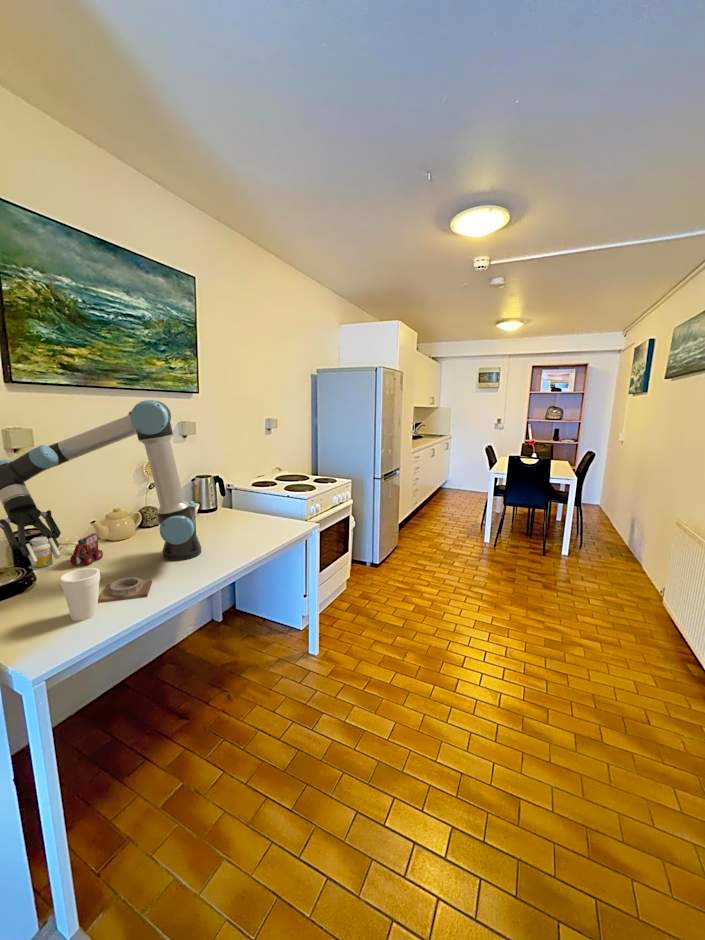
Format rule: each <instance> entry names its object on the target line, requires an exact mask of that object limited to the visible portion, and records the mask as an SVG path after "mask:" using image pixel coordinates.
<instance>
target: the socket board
mask: <svg viewBox="0 0 705 940" xmlns="http://www.w3.org/2000/svg"><path fill="white" fill-rule="evenodd" d="M152 584H153V579H145V580H142V578H140V577H135V576H133V577H125V578H121V579H118V580H115V581H114V582H112V583H108V584H106V586H105V587H104V589H103V590H102V592H101V594H100V596H98V603H105V602H107V603H108V602H113V601H114V602H115V601H121V600H122V601H123V600H129V599H138V598H145V597H146V598H147V597H148V595H149V592H150V590H151V587H152Z"/></svg>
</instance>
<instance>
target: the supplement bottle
mask: <svg viewBox="0 0 705 940" xmlns="http://www.w3.org/2000/svg"><path fill="white" fill-rule="evenodd" d="M47 542H48V539H47V537H45V536H38V537H37V536H36V537H33V538H32V539H30V546H31V548H32V550H33V552H34V554H35V556H36V558H37V560H38V561H37V563H36V565H34V566H32V564H31V563H30V565H31V569H32V570H33V571H43V570H48V569H50V568H52V567H53V565H54V561H53V553H52V551H51V545H50V544H49V543H47Z"/></svg>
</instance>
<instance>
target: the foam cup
mask: <svg viewBox="0 0 705 940" xmlns="http://www.w3.org/2000/svg"><path fill="white" fill-rule="evenodd" d="M100 580H101V573H100V569H99V568H95V567H86V568H78V569H75V570H70V571H69V572H66V573H64V574H63V575H61V576H60V585H61V588H62V590H63V593H64V596H65V600H66V603H67V607H68V612H69V614H70V618H71V620H72V621H74V622H82V621H86V620H90V619H92V618H93V617H95V616H96V615H97V614H98V605H99V604H98V599H99V590H100Z"/></svg>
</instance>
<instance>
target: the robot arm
mask: <svg viewBox="0 0 705 940" xmlns="http://www.w3.org/2000/svg"><path fill="white" fill-rule="evenodd" d="M171 420H172V413H171V410H170V408H169V407H168V406H167V405H166V404H165V403H163V402H161V401H159V400H151V399H147V400H142V401H139V402H138V403H136V404H135V405H134V406H133V408H132V409H131V411H128V413H127V415H126V416H122V417H120V418H118V419H115V420H112V421H110V422H107V423H105V424H102V425H100V426H96V427H95V428H92V429H89V430H87V431H85V432H81V433H79V434H76V435H74V436H71V437H69V438H66V439H63V440H61V441H59V442H58V441H57V442H55V443H53V444H50V445H45V444H40V445H38V446H36V447H35V448H34V447H33V448H31V449H30V450H29V451H27V452H26V453H24V454H22V455H21V456H19V457H18V458H17V457H16V458H15V459H13V460H10V459H0V502H1V505H2V506H3V509H4V511H5V513H6V515H7V518H1V519H0V529H2V530H3V533H4V535H5V538H6V540H7V542H8V544H9V548H10V549H11V550H15V549H18V550H19V551H21V554H22V555H23V557H27V558H28V559H29V561H30V565H31V564H32V566H34V565H36V563H37V561H38V560H37V558H36V556H35V554H34V552H33V550H32V548H31V546H32V545H31V543H26V530H25V529H26V527H28V526H29V527H30V526H33V528H35V529H37V530H38V531H39V532H40V533H41V534H42V535H43V537H47V540H48V541H47V543H49V544H50V545H51V551H52V556H53V557H54V560H58V559H59V558H60V557H61V552H60V551H59V547H60V543H59V541H58V538H59V539H60V536H61V534H62V533H61V530H60V529H59V526H58V525H57V523H56V522H55V520H54V518H53V516H52V511H51V509H50V510H49V509H47V511H41V510H40V509H38V507H37V505H36V502H35V501H34V499H33V496H32V495H31V493H30V491H29V489H28V487H27V485H26V482H27V481H29V480H30V479H32V478H34V477H36V476H38V475H39V474H41V473H43V472H45V471H47V470H50V469H52V468H54V467H58V466H60V465H63V464H64V463H67V462H70V461H72V460H74V459H77V458H79V457H82V456H84V455H87V454H90V453H92V452H94V451H97V450H99V449H102V448H104V447H108V446H109V445H112V444H115V443H117V442H120V441H122V440H125V439H128V438H130V437H133V436H136V435H137V439H138V442H141V444H143V446H144V449H145V452H146V455H147V461H148V464H149V467H150V468H149V469H150V472H151V475H152V479H153V483H154V487H155V488H154V489H155V491H156V495H157V499H158V504H159V507H158V509H157V511H156V513H157V518H158V523H159V525H160V526H159V534H160V535H159V536H160V537H161V538H162V540H163V541H164V545H163V549H162V558H163V559H164V560H169V561H185V560H189V559H192V558H196V557H198V556H199V555H200V554H202V545H201V543H200V541H199V538H198V536H197V523H196V522H197V520H196V517H197V516H196V503H195V501H194V500H189V499H188V500H187V499H186V500H185V498H184V494H183V488H182V485H181V482H180V476H179V473H178V469H177V463H176V460H175V455H174V451H173V448H172V444H171V443H172V442H171V439H172V437H173V436H174V433H173V432H174V431H173V428H172V424H171ZM40 516H41V517H42V519H43V520H45V523H46V524H47V525H46V524H45V523H43V521H42V520H41V518H40ZM10 524H13V525H16V528H17V537H18V541H17V539H16V536H15V534H14V532H13V530H12V526H11V525H10Z"/></svg>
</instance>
